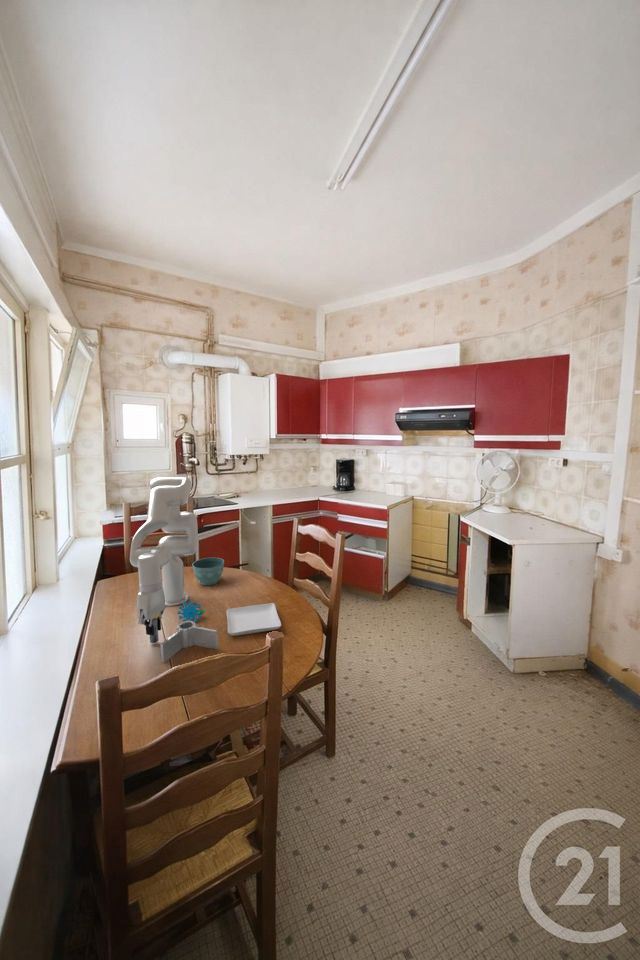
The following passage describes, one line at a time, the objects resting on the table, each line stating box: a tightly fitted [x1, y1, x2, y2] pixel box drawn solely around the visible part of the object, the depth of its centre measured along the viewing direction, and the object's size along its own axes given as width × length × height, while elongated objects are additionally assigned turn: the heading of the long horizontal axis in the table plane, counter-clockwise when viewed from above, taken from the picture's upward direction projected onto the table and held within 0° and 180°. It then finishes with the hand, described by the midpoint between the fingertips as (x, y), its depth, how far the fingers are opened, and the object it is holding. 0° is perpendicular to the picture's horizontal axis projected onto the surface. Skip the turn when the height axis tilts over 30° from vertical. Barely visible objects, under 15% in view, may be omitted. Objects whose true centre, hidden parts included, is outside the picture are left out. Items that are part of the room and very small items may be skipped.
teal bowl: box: [192, 557, 225, 586], centre depth 201 cm, size 16×16×11 cm
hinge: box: [159, 620, 219, 664], centre depth 137 cm, size 17×17×7 cm
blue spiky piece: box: [177, 599, 206, 623], centre depth 162 cm, size 11×6×10 cm
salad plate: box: [225, 602, 282, 636], centre depth 159 cm, size 21×21×3 cm
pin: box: [149, 613, 160, 644], centre depth 142 cm, size 5×5×11 cm
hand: (153, 631), depth 143 cm, fingers closed on pin, 3 cm apart
